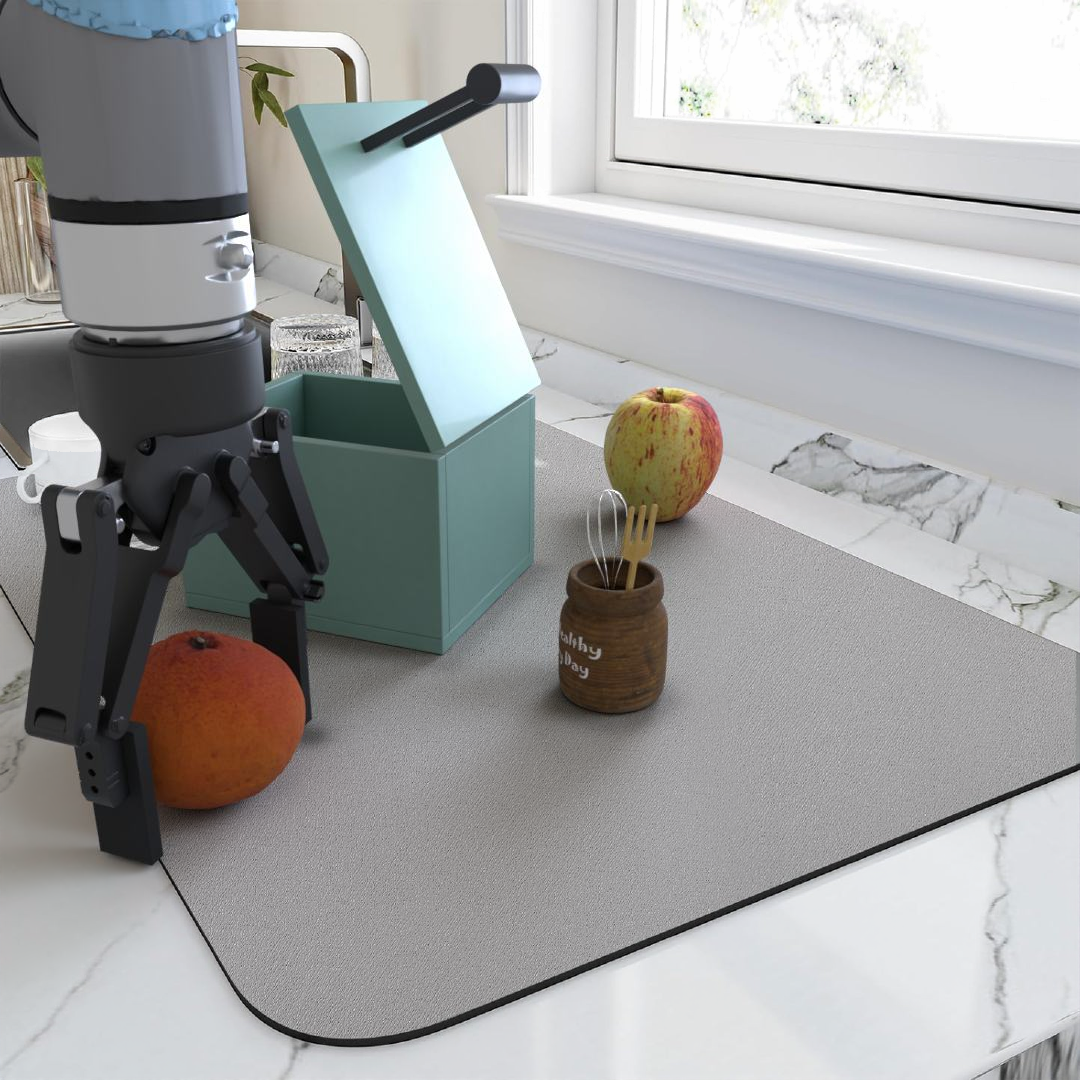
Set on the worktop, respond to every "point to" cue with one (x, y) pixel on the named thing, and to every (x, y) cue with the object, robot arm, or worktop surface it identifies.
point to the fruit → (217, 718)
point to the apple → (663, 451)
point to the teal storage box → (394, 514)
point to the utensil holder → (615, 625)
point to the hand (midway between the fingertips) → (216, 779)
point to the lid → (423, 246)
